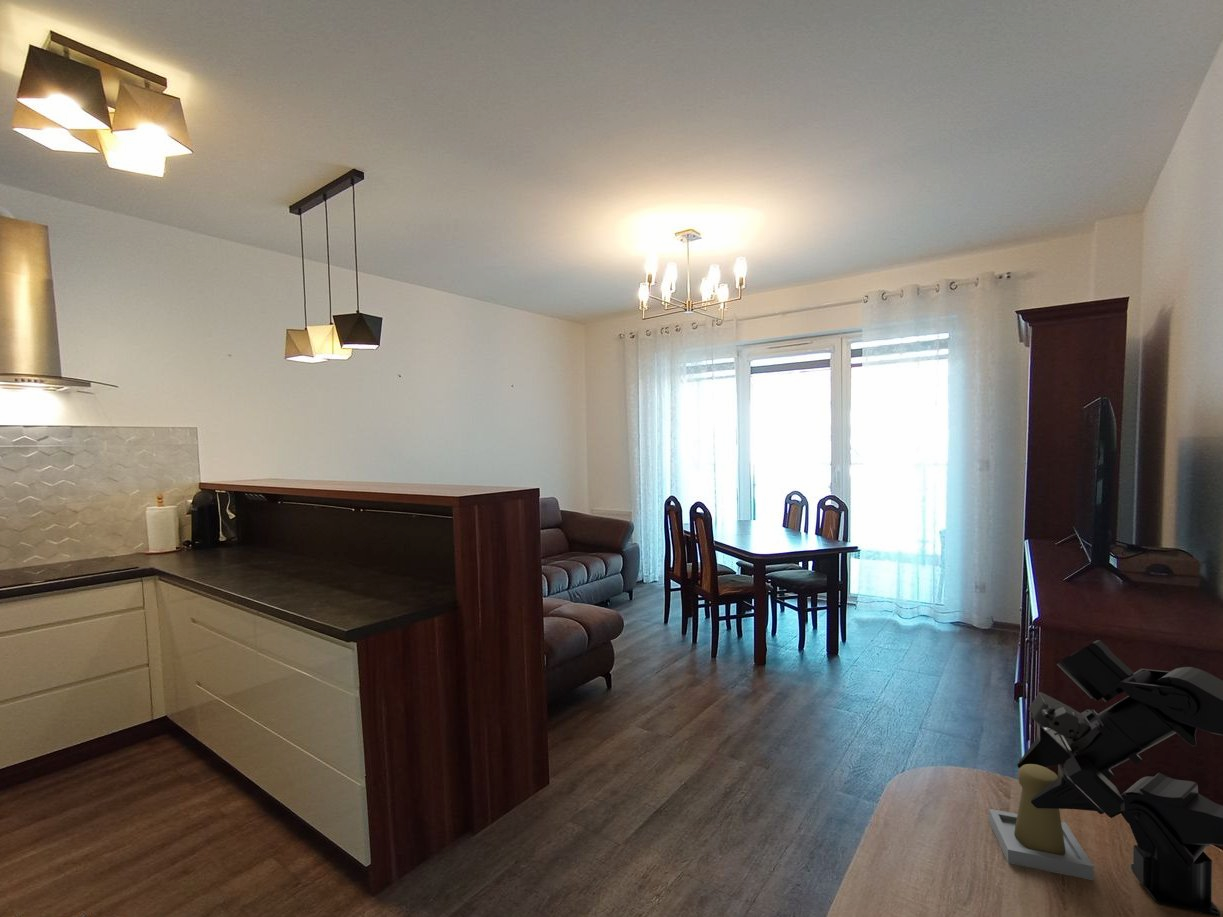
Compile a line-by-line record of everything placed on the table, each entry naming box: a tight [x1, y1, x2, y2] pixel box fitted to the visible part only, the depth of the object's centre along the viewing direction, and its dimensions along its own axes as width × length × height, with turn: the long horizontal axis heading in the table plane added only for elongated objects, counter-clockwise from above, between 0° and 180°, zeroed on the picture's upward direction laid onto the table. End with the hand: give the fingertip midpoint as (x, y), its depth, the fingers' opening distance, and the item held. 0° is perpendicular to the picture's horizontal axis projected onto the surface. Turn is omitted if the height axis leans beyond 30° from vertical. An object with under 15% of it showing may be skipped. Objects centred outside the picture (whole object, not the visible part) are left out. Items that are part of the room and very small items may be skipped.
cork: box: [1014, 764, 1065, 856], centre depth 81 cm, size 6×6×11 cm
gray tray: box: [988, 808, 1095, 881], centre depth 81 cm, size 10×9×2 cm
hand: (1025, 785), depth 81 cm, fingers open, 9 cm apart
